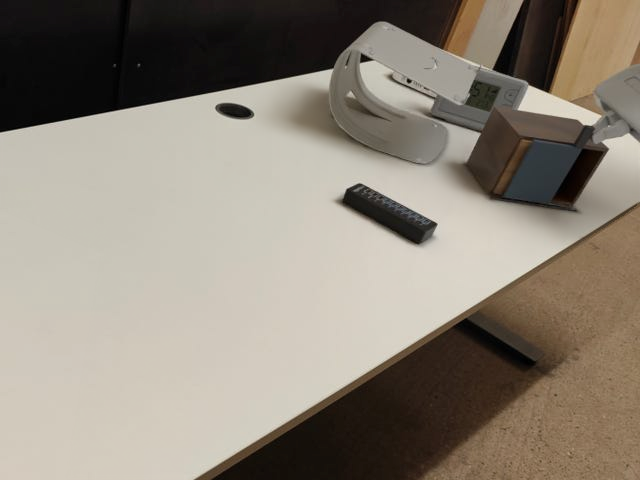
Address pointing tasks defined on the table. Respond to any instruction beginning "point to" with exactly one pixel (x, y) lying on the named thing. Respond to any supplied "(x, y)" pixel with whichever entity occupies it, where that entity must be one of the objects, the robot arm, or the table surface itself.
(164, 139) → the table surface
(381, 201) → the multiport hub
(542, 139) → the cupboard
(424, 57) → the laptop stand
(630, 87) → the robot arm
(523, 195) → the sliding door
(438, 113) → the digital clock
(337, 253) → the table surface
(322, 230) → the table surface
